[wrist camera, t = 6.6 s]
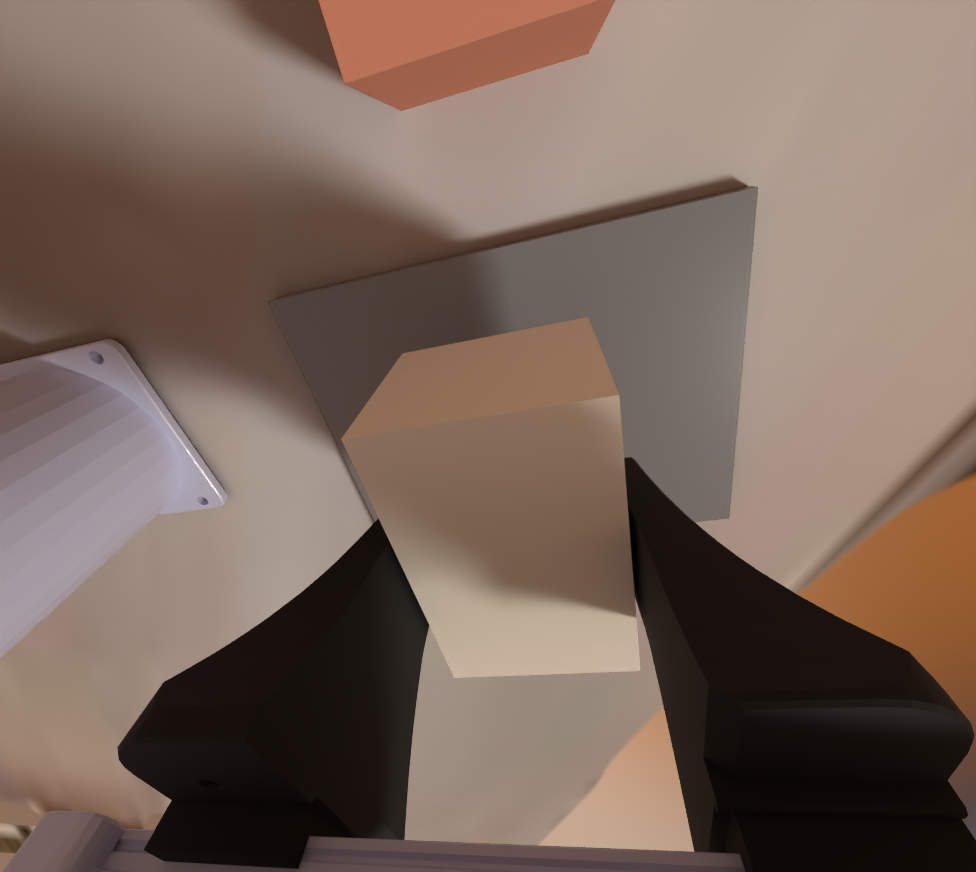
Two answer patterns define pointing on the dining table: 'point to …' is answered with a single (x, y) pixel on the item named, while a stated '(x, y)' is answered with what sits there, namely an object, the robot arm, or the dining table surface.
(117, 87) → the dining table surface
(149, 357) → the dining table surface
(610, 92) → the dining table surface
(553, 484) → the cream brick
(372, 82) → the red brick
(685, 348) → the base plate
